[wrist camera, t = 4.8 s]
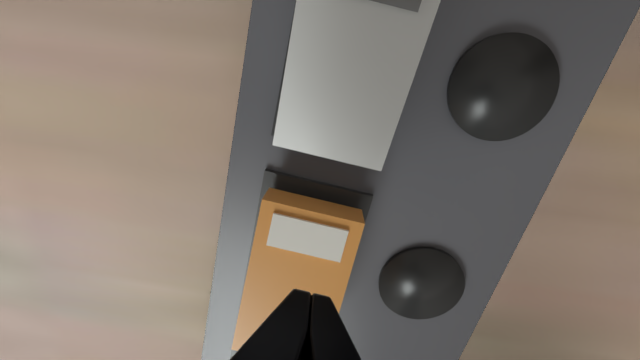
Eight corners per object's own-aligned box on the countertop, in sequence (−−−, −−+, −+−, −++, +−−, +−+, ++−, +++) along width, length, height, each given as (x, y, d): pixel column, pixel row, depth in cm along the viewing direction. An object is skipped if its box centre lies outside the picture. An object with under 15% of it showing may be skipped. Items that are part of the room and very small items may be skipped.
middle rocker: (323, 344, 13) (322, 372, 11) (240, 325, 13) (230, 351, 11) (362, 209, 11) (365, 225, 10) (269, 187, 11) (261, 200, 10)
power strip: (395, 405, 19) (404, 471, 17) (214, 364, 19) (191, 424, 16) (575, 6, 12) (650, -4, 9) (285, -68, 12) (265, -103, 9)
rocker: (379, 152, 11) (381, 172, 10) (280, 128, 11) (271, 146, 10) (446, -51, 8) (460, -55, 7) (317, -83, 8) (311, -93, 7)
